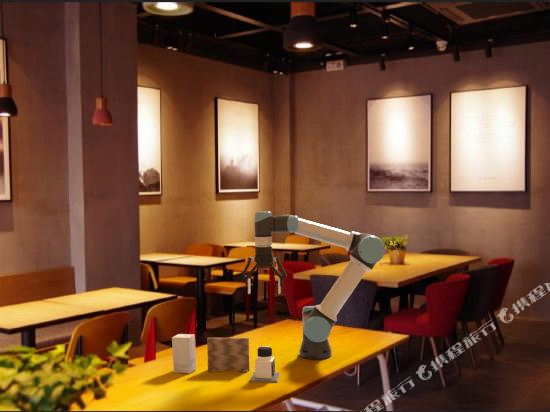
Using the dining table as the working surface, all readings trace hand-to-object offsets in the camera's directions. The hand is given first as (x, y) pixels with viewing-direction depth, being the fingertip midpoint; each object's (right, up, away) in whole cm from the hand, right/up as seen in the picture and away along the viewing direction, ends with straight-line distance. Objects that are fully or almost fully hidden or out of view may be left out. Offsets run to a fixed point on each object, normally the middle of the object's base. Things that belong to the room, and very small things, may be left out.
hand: (264, 293), depth 266 cm
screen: (-15, -32, -8) cm, 36 cm away
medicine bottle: (+1, -32, -19) cm, 37 cm away
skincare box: (-34, -33, -8) cm, 48 cm away
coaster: (+1, -32, -19) cm, 37 cm away
